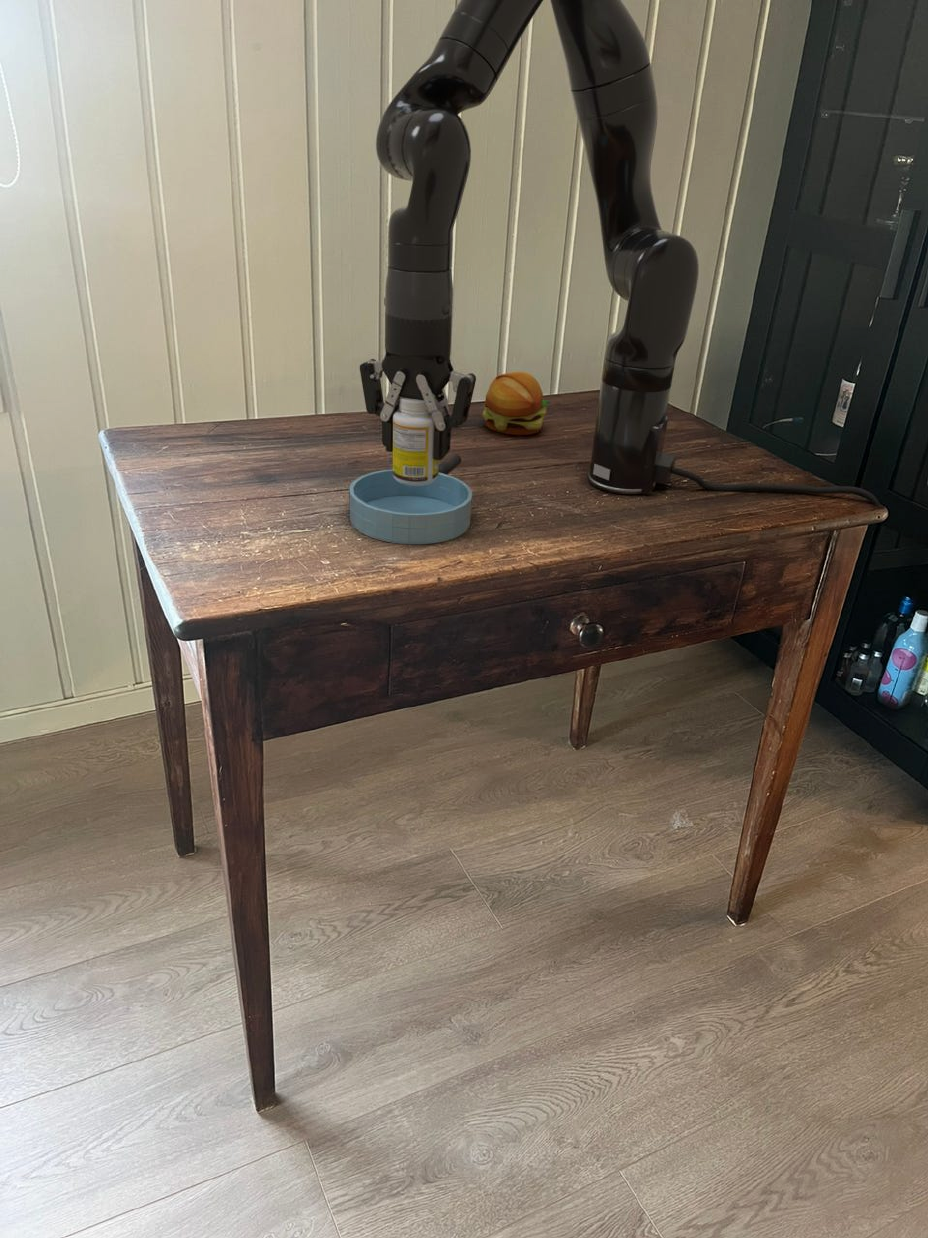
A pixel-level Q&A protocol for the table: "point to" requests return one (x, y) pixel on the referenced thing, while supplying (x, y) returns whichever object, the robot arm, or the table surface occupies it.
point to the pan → (409, 508)
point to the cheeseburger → (515, 404)
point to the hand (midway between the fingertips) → (415, 453)
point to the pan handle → (449, 464)
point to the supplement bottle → (414, 444)
